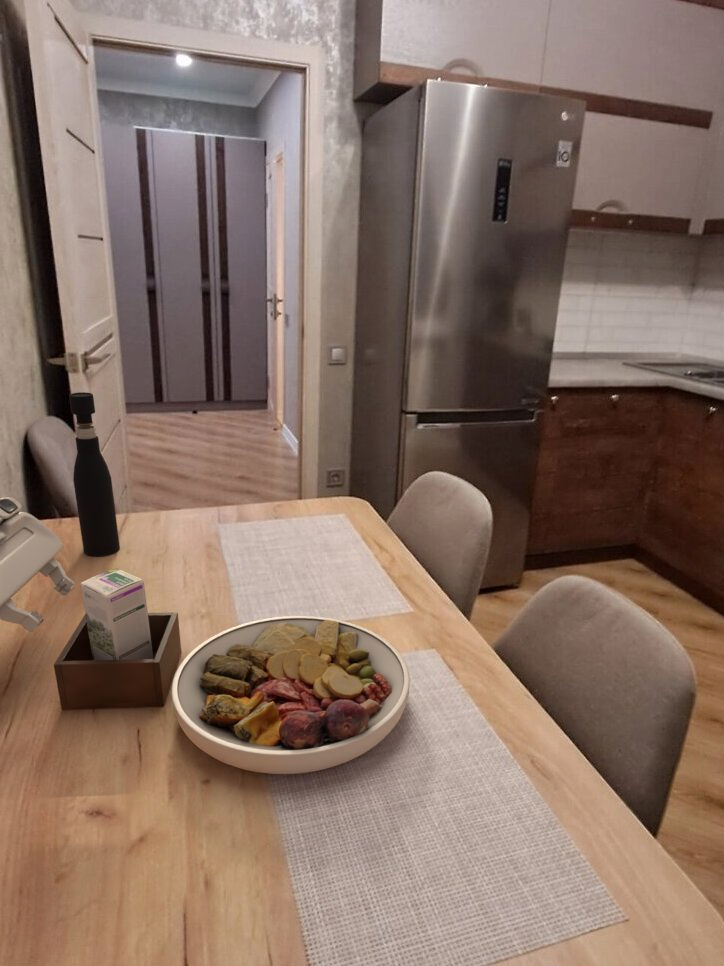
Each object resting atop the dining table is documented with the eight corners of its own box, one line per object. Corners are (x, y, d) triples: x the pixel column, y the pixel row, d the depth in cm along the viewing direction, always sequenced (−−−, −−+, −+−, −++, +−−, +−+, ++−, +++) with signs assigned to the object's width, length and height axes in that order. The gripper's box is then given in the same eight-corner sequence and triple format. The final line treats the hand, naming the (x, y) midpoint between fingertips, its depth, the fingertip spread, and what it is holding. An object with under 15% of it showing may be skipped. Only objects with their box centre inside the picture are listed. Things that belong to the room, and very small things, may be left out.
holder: (61, 709, 85) (53, 664, 82) (91, 654, 96) (85, 613, 94) (164, 706, 86) (159, 662, 84) (181, 652, 98) (177, 612, 95)
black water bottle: (89, 559, 125) (66, 399, 113) (79, 547, 129) (56, 392, 117) (124, 551, 128) (105, 396, 117) (113, 540, 133) (94, 389, 121)
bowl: (138, 690, 89) (132, 639, 86) (324, 624, 107) (325, 580, 104) (245, 833, 68) (242, 773, 65) (454, 721, 87) (460, 670, 83)
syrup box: (156, 671, 92) (146, 577, 86) (119, 692, 87) (106, 594, 82) (130, 657, 95) (118, 565, 89) (92, 677, 90) (78, 581, 84)
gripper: (-74, 555, 73) (31, 634, 77) (19, 493, 92) (100, 559, 96) (-107, 589, 74) (-1, 666, 79) (-8, 521, 93) (72, 586, 98)
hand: (55, 607), depth 87 cm, fingers open, 8 cm apart
